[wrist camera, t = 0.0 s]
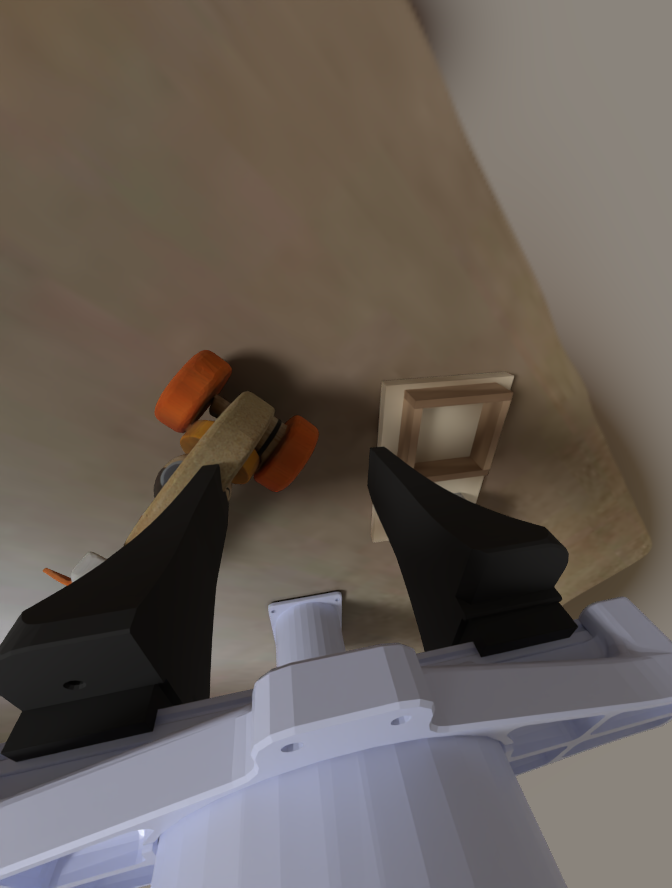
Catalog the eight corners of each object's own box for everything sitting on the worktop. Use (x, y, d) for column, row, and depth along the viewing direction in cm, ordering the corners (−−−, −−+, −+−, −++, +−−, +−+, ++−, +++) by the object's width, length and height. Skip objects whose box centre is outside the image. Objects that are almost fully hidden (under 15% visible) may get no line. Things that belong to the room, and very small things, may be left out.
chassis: (463, 520, 33) (479, 543, 30) (370, 534, 31) (379, 559, 29) (505, 371, 24) (533, 385, 22) (381, 380, 23) (396, 397, 20)
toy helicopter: (334, 407, 21) (307, 618, 9) (195, 556, 30) (92, 756, 18) (224, 321, 18) (-9, 463, 6) (109, 514, 27) (-73, 714, 16)
